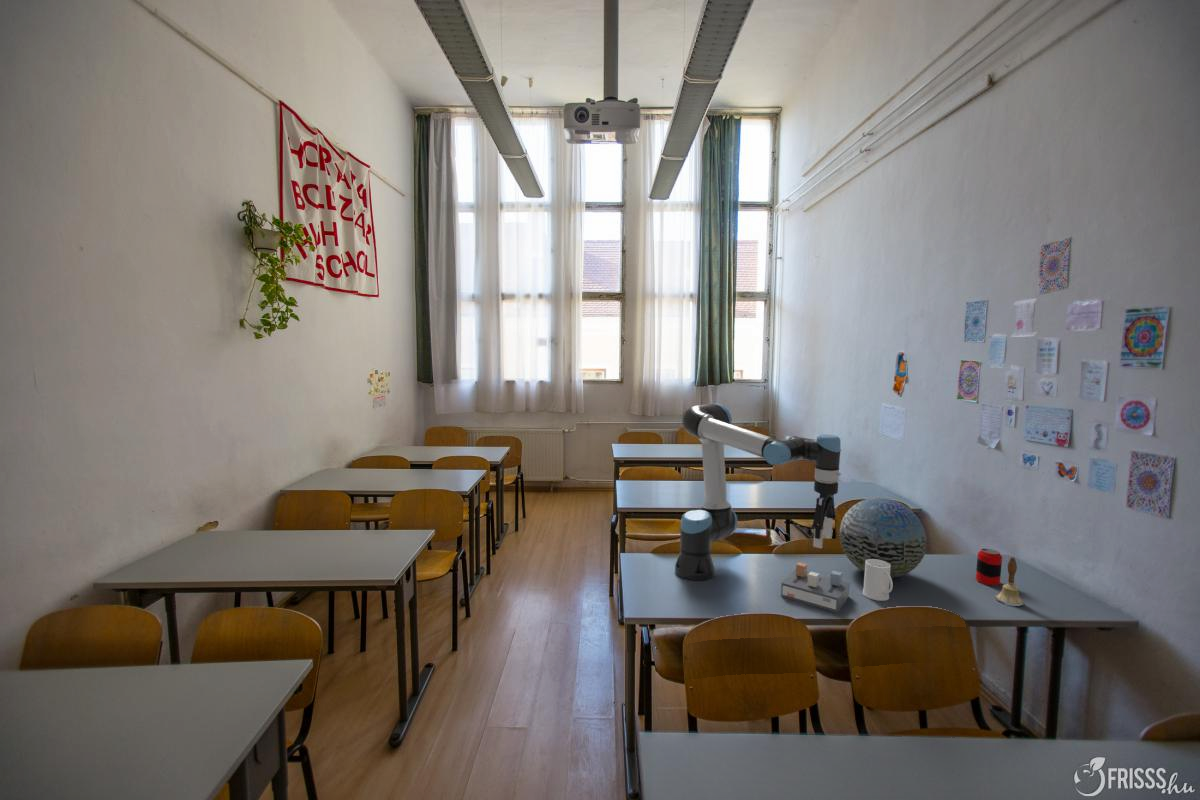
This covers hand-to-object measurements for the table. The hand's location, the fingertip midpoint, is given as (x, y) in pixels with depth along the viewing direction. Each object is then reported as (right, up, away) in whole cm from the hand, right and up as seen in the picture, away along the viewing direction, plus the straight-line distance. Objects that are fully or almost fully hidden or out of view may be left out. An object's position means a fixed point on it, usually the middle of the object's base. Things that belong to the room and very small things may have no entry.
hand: (822, 541), depth 191 cm
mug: (+22, -22, +6) cm, 32 cm away
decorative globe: (+32, -20, +26) cm, 46 cm away
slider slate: (+6, -16, +5) cm, 18 cm away
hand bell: (+67, -23, +5) cm, 71 cm away
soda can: (+71, -21, +21) cm, 77 cm away
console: (0, -21, +7) cm, 22 cm away
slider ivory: (-2, -16, +4) cm, 17 cm away
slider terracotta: (-3, -15, +12) cm, 20 cm away
